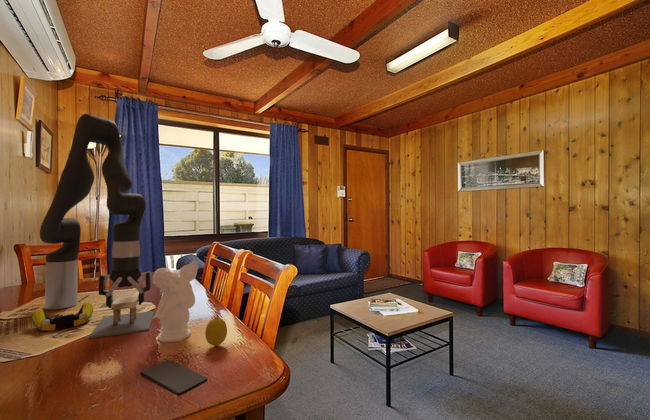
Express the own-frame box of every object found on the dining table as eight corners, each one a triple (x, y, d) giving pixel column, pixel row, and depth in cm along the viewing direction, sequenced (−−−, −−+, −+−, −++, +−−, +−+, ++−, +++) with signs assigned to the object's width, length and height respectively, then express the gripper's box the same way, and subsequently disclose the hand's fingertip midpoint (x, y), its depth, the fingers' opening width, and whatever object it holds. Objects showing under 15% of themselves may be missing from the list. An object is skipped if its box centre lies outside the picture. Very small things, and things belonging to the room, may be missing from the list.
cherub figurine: (150, 345, 83) (150, 264, 83) (157, 329, 95) (156, 258, 95) (199, 338, 88) (198, 261, 88) (199, 323, 99) (199, 255, 99)
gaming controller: (32, 326, 96) (30, 336, 88) (32, 309, 96) (31, 317, 89) (92, 316, 106) (95, 324, 99) (92, 300, 106) (95, 306, 99)
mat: (103, 318, 103) (103, 316, 103) (154, 312, 110) (154, 310, 110) (88, 338, 87) (88, 336, 87) (149, 330, 93) (149, 328, 93)
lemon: (214, 353, 79) (214, 322, 79) (200, 348, 82) (201, 318, 82) (231, 345, 83) (231, 316, 83) (217, 340, 86) (218, 312, 86)
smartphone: (179, 393, 61) (139, 371, 68) (179, 398, 61) (139, 375, 68) (209, 378, 66) (169, 358, 74) (208, 382, 66) (168, 362, 74)
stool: (110, 327, 94) (111, 304, 94) (115, 320, 100) (115, 298, 100) (135, 324, 97) (135, 301, 97) (138, 317, 103) (138, 296, 103)
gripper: (152, 252, 105) (152, 300, 105) (102, 254, 99) (101, 305, 99) (150, 255, 98) (149, 306, 98) (96, 257, 92) (95, 312, 92)
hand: (125, 305), depth 98 cm, fingers open, 7 cm apart
